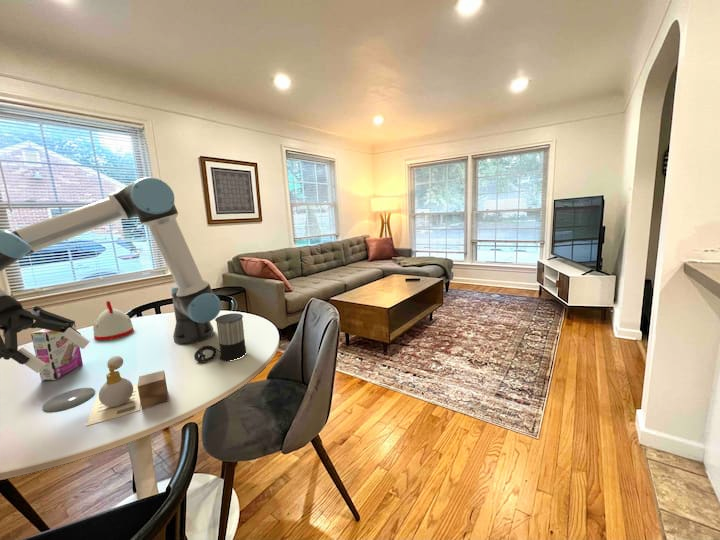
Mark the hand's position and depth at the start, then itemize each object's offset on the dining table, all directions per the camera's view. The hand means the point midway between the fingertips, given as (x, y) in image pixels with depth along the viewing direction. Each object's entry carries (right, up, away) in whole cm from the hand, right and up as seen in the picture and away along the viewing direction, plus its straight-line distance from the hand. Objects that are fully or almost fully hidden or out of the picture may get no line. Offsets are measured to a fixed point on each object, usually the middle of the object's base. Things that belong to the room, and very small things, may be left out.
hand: (66, 356), depth 83 cm
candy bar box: (-21, -12, +22) cm, 33 cm away
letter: (+11, -14, +3) cm, 18 cm away
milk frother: (+29, -9, +29) cm, 42 cm away
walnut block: (+21, -14, +4) cm, 26 cm away
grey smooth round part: (-4, -14, +6) cm, 16 cm away
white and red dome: (-31, -6, +56) cm, 64 cm away
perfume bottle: (+11, -14, +3) cm, 18 cm away
